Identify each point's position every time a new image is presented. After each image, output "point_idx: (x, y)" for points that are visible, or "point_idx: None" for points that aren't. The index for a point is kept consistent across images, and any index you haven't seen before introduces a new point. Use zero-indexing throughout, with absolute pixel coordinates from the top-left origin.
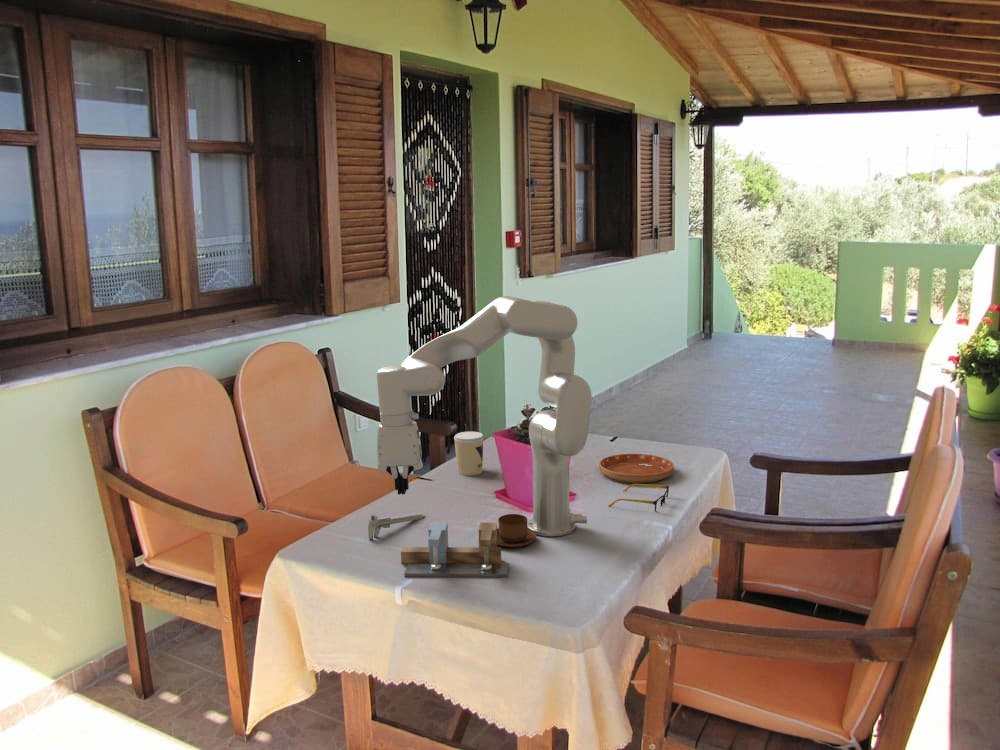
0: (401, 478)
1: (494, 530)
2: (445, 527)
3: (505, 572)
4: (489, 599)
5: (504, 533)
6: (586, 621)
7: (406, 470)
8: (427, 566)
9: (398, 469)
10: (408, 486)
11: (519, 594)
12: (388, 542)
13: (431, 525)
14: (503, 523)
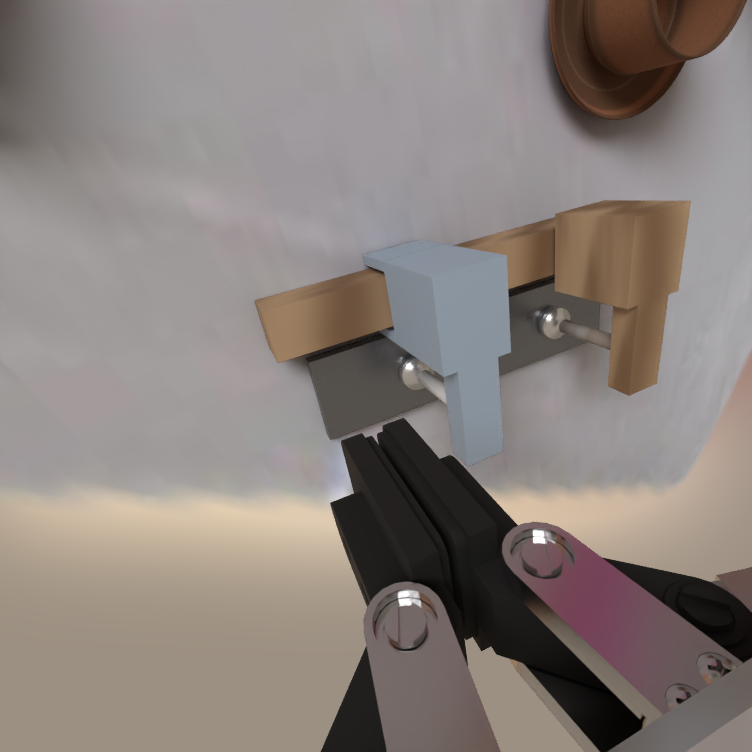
0: (481, 641)
1: (674, 291)
2: (508, 323)
3: (594, 328)
4: (557, 455)
5: (627, 60)
6: (697, 456)
7: (624, 718)
8: (384, 367)
9: (466, 669)
10: (454, 462)
11: (611, 409)
12: (63, 115)
13: (443, 319)
14: (668, 46)
